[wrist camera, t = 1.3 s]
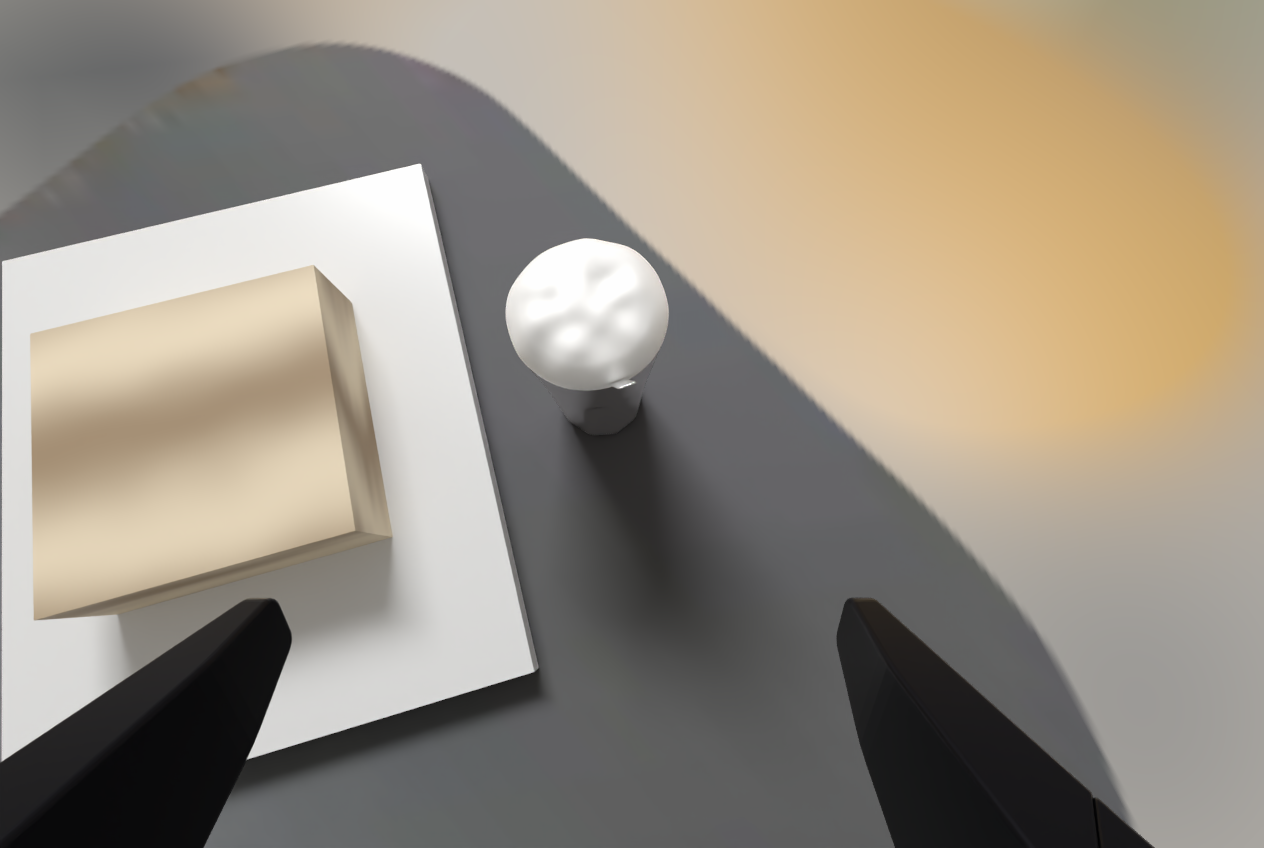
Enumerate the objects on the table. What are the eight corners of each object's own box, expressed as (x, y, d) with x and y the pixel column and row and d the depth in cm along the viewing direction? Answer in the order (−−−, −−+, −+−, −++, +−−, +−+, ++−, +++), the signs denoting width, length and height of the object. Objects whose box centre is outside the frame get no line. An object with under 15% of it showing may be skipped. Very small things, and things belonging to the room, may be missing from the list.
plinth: (392, 537, 21) (355, 530, 18) (117, 614, 21) (33, 620, 18) (351, 302, 24) (313, 264, 21) (105, 364, 23) (30, 333, 20)
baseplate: (538, 667, 21) (534, 671, 20) (32, 821, 20) (1, 833, 19) (427, 178, 27) (420, 163, 26) (26, 273, 25) (2, 261, 24)
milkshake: (575, 487, 23) (535, 420, 13) (532, 369, 24) (467, 231, 15) (680, 446, 23) (715, 353, 14) (632, 333, 25) (633, 176, 15)
